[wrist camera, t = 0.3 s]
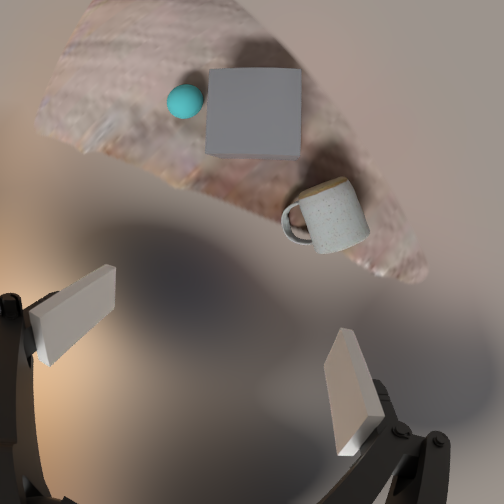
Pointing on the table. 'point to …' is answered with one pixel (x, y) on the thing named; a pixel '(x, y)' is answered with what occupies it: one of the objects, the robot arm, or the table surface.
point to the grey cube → (254, 113)
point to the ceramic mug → (329, 217)
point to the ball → (185, 101)
